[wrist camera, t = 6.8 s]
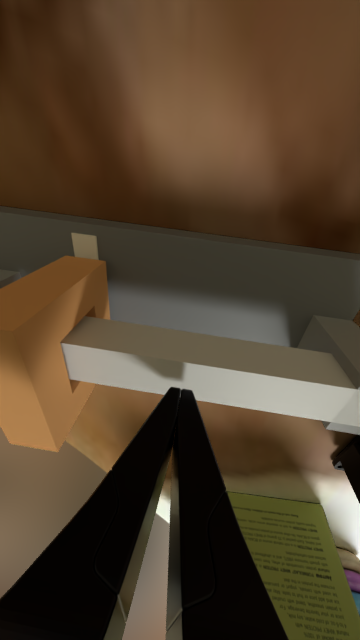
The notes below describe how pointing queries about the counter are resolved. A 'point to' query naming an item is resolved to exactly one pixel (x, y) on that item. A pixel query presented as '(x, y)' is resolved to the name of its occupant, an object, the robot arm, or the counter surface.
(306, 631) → the protein box
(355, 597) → the stacking toy
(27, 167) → the counter surface
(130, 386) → the pipe rig
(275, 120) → the counter surface
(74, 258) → the collar
